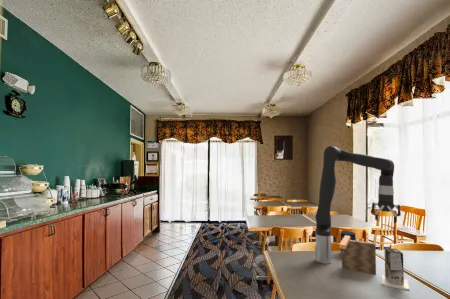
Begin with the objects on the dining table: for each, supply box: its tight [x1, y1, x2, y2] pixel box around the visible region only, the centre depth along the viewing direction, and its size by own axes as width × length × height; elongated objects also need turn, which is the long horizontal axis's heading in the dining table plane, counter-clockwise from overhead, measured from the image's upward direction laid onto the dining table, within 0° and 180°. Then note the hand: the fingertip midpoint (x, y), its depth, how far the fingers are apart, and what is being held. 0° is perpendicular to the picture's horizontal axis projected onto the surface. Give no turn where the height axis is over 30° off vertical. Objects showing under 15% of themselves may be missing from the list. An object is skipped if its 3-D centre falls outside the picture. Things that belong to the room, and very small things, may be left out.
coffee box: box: [384, 247, 405, 285], centre depth 145 cm, size 9×6×16 cm
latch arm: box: [338, 235, 350, 250], centre depth 157 cm, size 3×24×2 cm, turn 150°
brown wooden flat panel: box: [341, 240, 377, 276], centre depth 162 cm, size 18×3×17 cm, turn 60°
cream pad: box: [381, 274, 410, 291], centre depth 145 cm, size 12×14×1 cm
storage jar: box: [340, 230, 357, 255], centre depth 193 cm, size 10×10×15 cm
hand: (385, 222), depth 155 cm, fingers open, 8 cm apart
